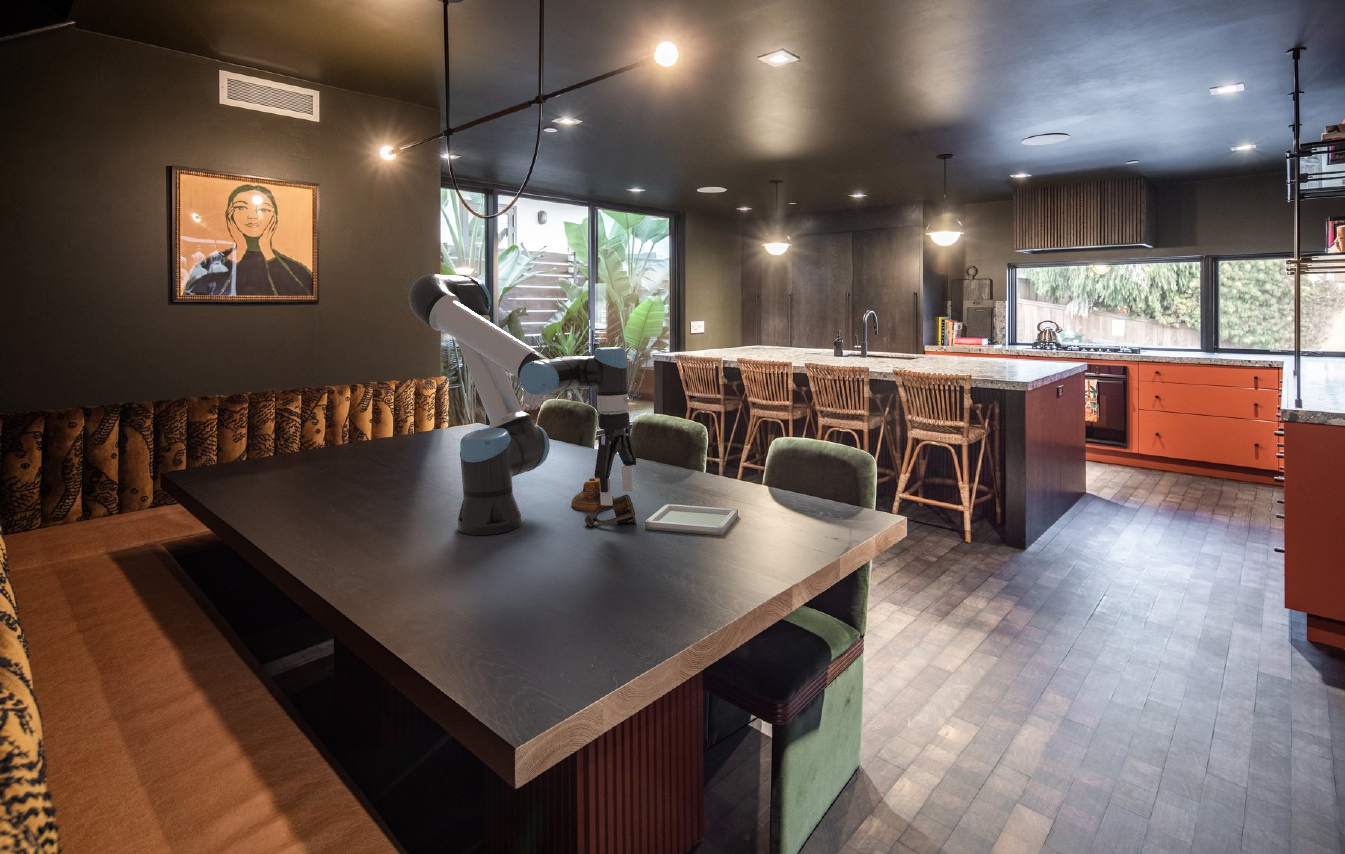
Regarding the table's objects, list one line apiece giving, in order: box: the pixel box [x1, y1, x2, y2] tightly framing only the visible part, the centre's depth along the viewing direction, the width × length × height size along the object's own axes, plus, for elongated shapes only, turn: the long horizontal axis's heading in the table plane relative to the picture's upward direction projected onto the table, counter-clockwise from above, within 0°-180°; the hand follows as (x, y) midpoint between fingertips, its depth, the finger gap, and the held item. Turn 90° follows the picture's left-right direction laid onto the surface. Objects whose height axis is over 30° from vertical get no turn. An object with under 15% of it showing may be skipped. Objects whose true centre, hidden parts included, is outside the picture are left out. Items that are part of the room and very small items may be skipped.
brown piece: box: [584, 493, 638, 527], centre depth 175 cm, size 7×13×10 cm
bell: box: [570, 477, 615, 512], centre depth 192 cm, size 12×12×7 cm
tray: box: [644, 503, 739, 536], centre depth 174 cm, size 19×16×2 cm
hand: (617, 497), depth 174 cm, fingers open, 13 cm apart
